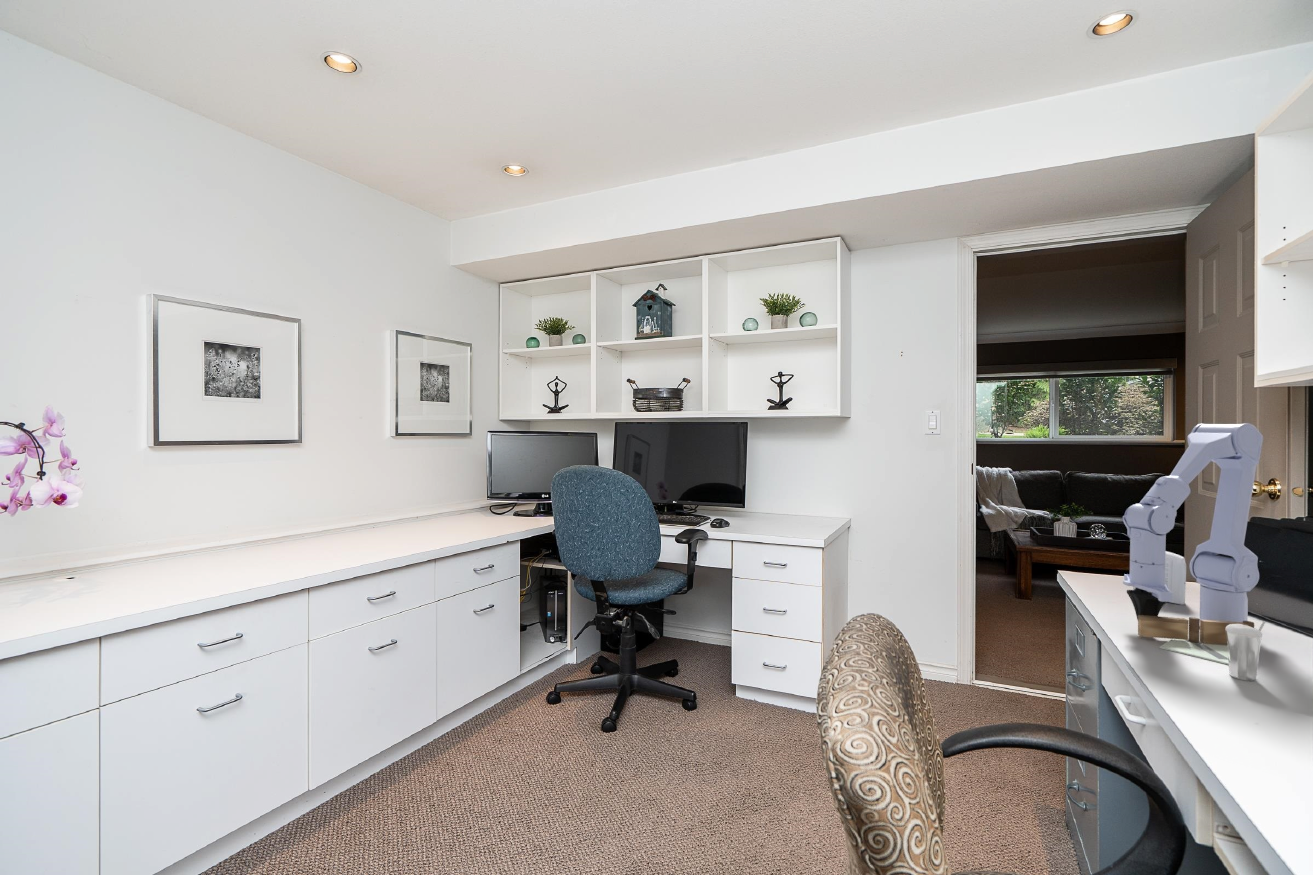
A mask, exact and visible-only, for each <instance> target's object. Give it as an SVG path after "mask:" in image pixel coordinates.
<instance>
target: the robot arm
mask: <svg viewBox="0 0 1313 875" xmlns="http://www.w3.org/2000/svg"><path fill="white" fill-rule="evenodd" d="M1186 440H1187V445H1188V447H1187V448H1186V450H1185V451H1184V453H1183V455H1182V456H1180V459H1179V460H1178V462H1177V464H1176V465H1175V467H1174V468H1173V470H1172V471H1171V473H1170V474H1169V475H1165V476H1161V477H1159V478H1158V479H1156V480H1155V482H1154V484H1153V485H1152V486H1151V487H1150V489H1149V491H1147V493H1146V494H1145V495H1144V496H1143V498H1142V499H1141V500H1140V502H1139V503H1135V504H1132V505H1130V506H1129V507H1128V508H1126V510H1125V512H1124V515H1123V516H1122V520H1123V525H1125V527H1126V529H1127V531H1126V532H1127V534H1126V535H1127V536H1128V538H1129V542H1130V543H1129V544H1130V545H1129V574H1128V573H1127V574H1125V573H1124V575H1123V577H1124V578H1123V581H1122V584H1123V585H1125V586H1126V587H1127V586H1128V587H1132V588H1133V587H1136V589H1134V590H1133V589H1127V590H1126V594H1127V595H1128V597H1129V598H1130V600H1131V601H1130V602H1131V604H1132V607H1133V609H1134V611H1135V615H1136V620H1137V621H1138V615H1145V616H1159V614H1160V612H1161V610H1162V608H1163V607H1164V605H1166V603H1171V602H1172V598H1173V593H1172V592H1170V591H1169V589H1168V588H1167V586H1166V585H1165V551H1167V550H1166V548H1167V547H1166V546H1167V545H1166V543H1167V542H1166V540H1167V538H1166V537H1167V534H1168V533H1170V531H1171V530H1173V529H1174V527H1175V521H1176V520H1175V519H1176V517H1177V515H1178V514H1177V513H1178V512H1177V510H1178V509H1179V508H1180V507H1181V505H1182V504H1183V503H1184V502H1185V501H1186V499H1188V497H1189V496H1190V494H1191V491H1192V490H1191V487H1190V485H1189V484H1191V482H1192V481H1193V480H1194V479H1195V478H1196V477H1197V476H1198V475H1199V474H1200V473H1201V472H1202V471H1203V470H1204V469H1205V468H1206V467H1207V466H1208V465H1209V464H1210V463H1211V462H1213V463H1215V464H1216V465H1217V466H1218V467H1219V468H1220V475H1219V480H1218V486H1217V493H1216V499H1215V504H1214V505H1215V506H1214V511H1213V515H1212V516H1213V517H1212V523H1211V529H1210V534H1209V535H1210V537H1209V539H1207V540H1205V541H1204V542H1202V543H1200V544H1198V545H1196V547H1195V552H1194V554H1193V556H1192V558H1191V559H1190V561H1189V571H1190V574H1191V576H1192V577H1193V578H1194V579H1196V584H1199V619H1202V620H1216V621H1230V622H1243V621H1248V616H1249V615H1248V612H1249V611H1248V610H1249V608H1248V607H1249V606H1248V605H1249V602H1248V601H1249V598H1248V596H1247V592H1251V591H1252V590H1253V589H1254V588H1255V587H1256V586H1257V584H1258V582H1259V581H1260V572H1259V568H1258V559H1259V557H1258V556H1257V555H1256V554H1255V553H1254V552H1253V551H1251V550H1250V549H1249V548H1248V547H1246V546H1245V541H1246V540H1245V539H1246V533H1247V527H1248V520H1249V514H1250V509H1251V508H1250V507H1251V502H1252V497H1253V490H1254V484H1255V477H1256V471H1257V465H1259V463H1260V459H1261V454H1262V453H1261V452H1262V448H1263V441H1264V436H1263V434H1262V433H1261V432H1260V431H1259V429H1258V428H1257V427H1256V426H1255V425H1254V424H1253V423H1248V422H1246V423H1198V424H1197V425H1195V426H1194V427H1193V429H1192V430H1191V432H1190V433H1189V434H1188V435H1187V439H1186ZM1220 554H1221V555H1225V556H1221V555H1220ZM1227 556H1230V557H1227ZM1199 629H1200V626H1199Z"/></svg>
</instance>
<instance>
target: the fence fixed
mask: <svg viewBox="0 0 1313 875" xmlns="http://www.w3.org/2000/svg"><path fill="white" fill-rule="evenodd" d="M1229 624H1242V625H1246V626H1250V627H1253V628H1255V622H1253V621H1249V620H1247V621H1243V622H1230V621H1216V620H1202V619H1200V617H1199V618H1198V617H1193V616H1190V617H1188V632H1189V638H1188V641H1190V642H1193V643H1199V634H1200V642H1202V643H1207V644H1220V645H1227V639H1226V630H1225V628H1226V626H1228V625H1229ZM1199 626H1200V628H1199Z"/></svg>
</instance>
